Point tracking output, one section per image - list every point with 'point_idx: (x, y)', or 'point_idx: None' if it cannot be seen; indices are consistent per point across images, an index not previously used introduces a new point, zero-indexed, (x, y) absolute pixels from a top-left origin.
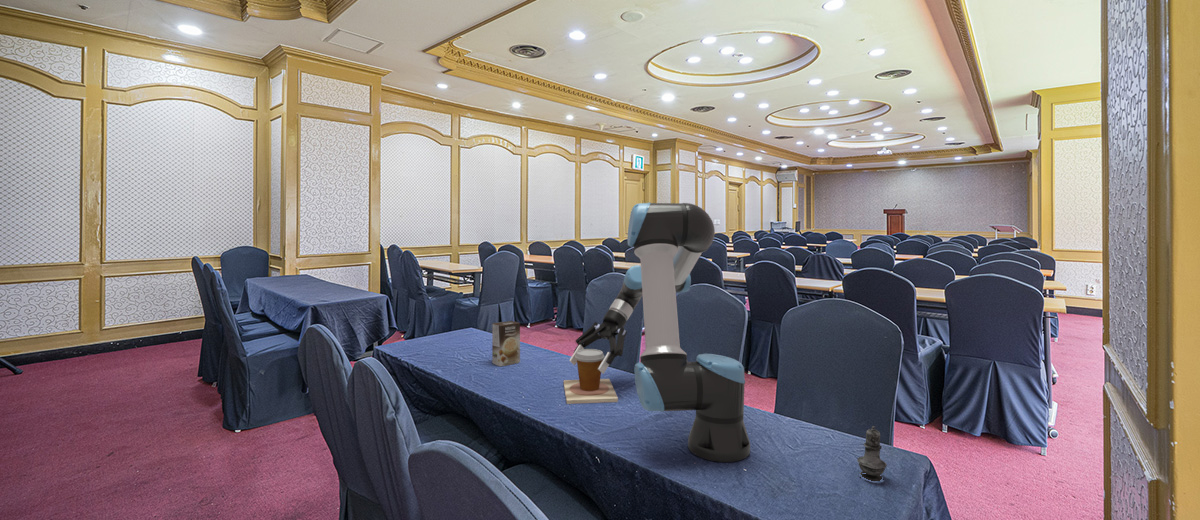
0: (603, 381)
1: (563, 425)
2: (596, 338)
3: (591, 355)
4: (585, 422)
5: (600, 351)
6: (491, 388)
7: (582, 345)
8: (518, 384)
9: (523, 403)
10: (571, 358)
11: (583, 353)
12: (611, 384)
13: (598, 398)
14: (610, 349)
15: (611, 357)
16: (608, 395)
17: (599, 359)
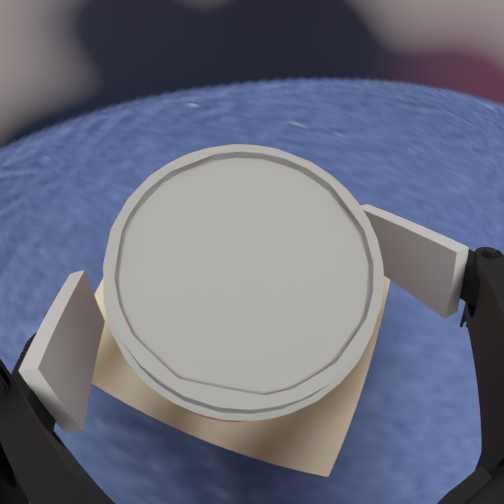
0: (303, 437)
1: (51, 139)
2: (490, 425)
3: (124, 210)
4: (25, 185)
5: (240, 395)
6: (387, 105)
7: (474, 290)
8: (408, 158)
9: (242, 107)
10: (371, 210)
11: (268, 204)
12: (240, 452)
13: (100, 293)
14: (24, 403)
15: (16, 367)
16: (106, 351)
17: (105, 299)
